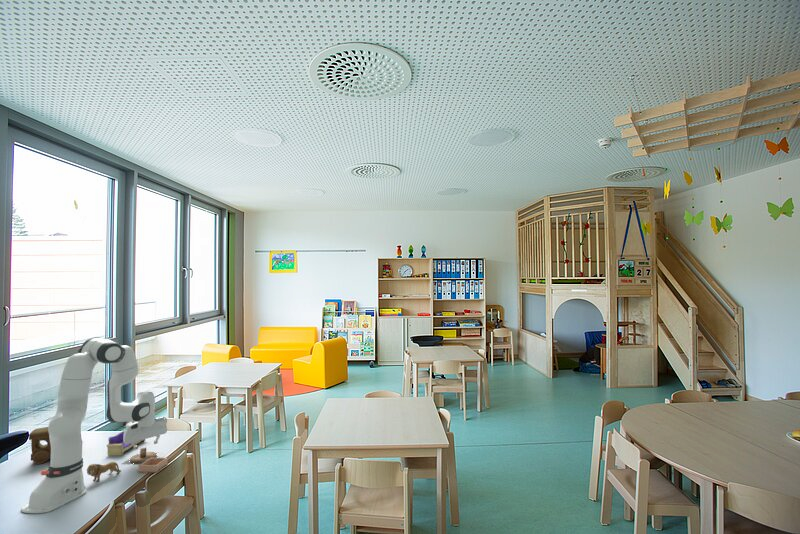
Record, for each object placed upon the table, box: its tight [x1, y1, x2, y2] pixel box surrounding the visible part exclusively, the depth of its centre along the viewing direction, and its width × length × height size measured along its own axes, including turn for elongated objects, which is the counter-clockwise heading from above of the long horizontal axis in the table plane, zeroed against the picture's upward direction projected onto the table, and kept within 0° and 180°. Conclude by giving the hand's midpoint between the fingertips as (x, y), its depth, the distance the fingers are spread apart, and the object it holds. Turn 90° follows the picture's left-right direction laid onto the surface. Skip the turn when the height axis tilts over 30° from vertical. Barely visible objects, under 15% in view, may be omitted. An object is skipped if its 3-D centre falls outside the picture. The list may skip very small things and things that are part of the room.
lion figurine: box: [86, 461, 122, 483], centre depth 190 cm, size 15×5×9 cm, turn 152°
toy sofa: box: [106, 429, 146, 457], centre depth 224 cm, size 21×9×10 cm, turn 0°
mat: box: [121, 452, 159, 466], centre depth 210 cm, size 14×14×1 cm
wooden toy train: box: [28, 426, 51, 465], centre depth 211 cm, size 20×11×17 cm, turn 119°
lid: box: [129, 446, 157, 464], centre depth 210 cm, size 12×12×5 cm
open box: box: [137, 457, 169, 474], centre depth 199 cm, size 9×9×4 cm
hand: (145, 446), depth 211 cm, fingers open, 8 cm apart
